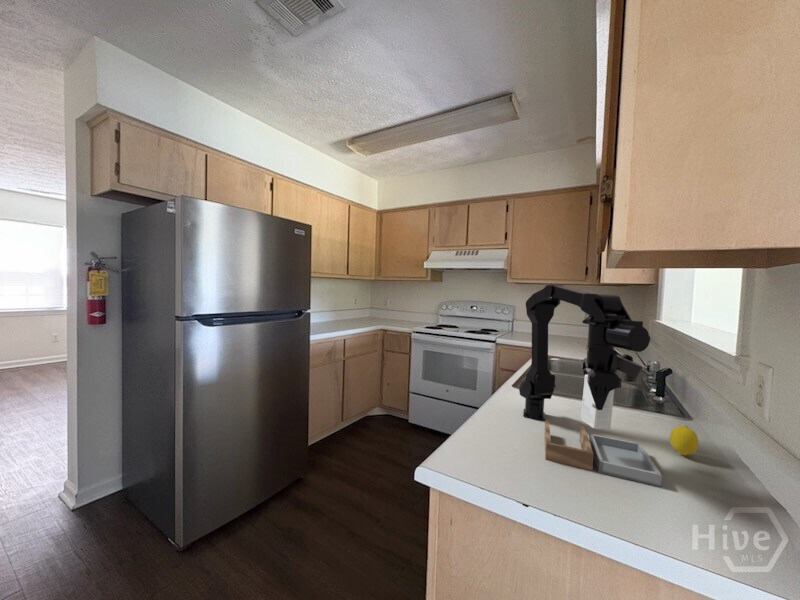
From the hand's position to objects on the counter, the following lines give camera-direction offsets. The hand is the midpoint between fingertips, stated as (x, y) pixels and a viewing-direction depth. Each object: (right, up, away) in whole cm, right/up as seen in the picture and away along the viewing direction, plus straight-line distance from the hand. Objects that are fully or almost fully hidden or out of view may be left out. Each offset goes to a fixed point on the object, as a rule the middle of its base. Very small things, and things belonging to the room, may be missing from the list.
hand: (597, 405), depth 80 cm
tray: (+5, -14, -2) cm, 14 cm away
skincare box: (0, -5, 0) cm, 5 cm away
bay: (-6, -13, +4) cm, 15 cm away
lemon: (+24, -14, +3) cm, 28 cm away
